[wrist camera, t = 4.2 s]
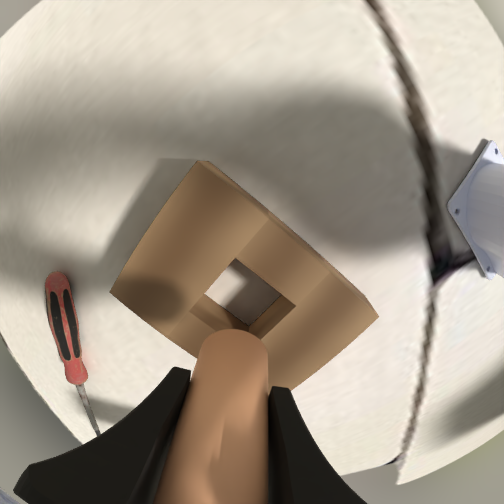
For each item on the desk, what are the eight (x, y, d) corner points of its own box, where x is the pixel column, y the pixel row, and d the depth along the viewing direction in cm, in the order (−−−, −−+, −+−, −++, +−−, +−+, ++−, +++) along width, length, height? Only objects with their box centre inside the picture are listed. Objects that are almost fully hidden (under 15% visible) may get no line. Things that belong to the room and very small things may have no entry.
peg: (274, 334, 11) (280, 523, 4) (261, 384, 12) (256, 541, 4) (202, 323, 11) (141, 501, 4) (198, 374, 12) (156, 526, 4)
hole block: (364, 295, 19) (379, 316, 16) (272, 377, 21) (272, 403, 18) (208, 161, 16) (197, 160, 13) (128, 274, 19) (109, 292, 16)
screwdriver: (114, 436, 27) (107, 452, 24) (96, 428, 27) (88, 443, 24) (78, 269, 19) (57, 284, 16) (54, 262, 19) (32, 275, 16)
